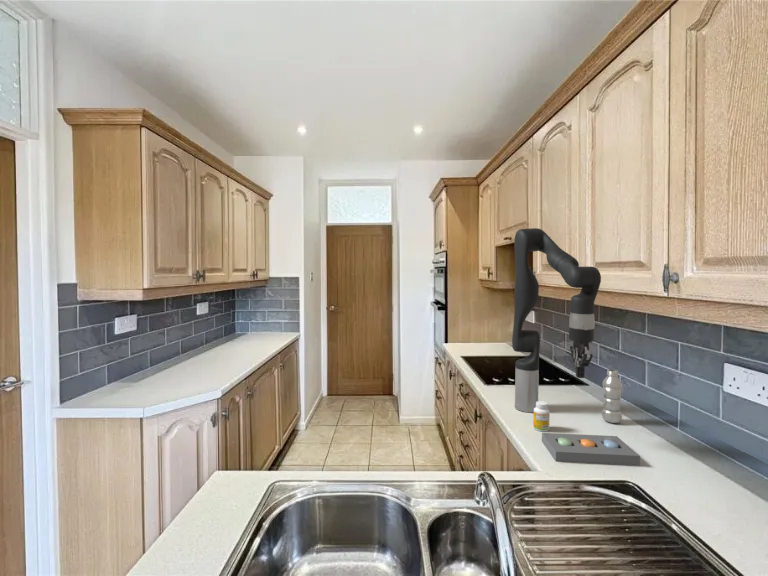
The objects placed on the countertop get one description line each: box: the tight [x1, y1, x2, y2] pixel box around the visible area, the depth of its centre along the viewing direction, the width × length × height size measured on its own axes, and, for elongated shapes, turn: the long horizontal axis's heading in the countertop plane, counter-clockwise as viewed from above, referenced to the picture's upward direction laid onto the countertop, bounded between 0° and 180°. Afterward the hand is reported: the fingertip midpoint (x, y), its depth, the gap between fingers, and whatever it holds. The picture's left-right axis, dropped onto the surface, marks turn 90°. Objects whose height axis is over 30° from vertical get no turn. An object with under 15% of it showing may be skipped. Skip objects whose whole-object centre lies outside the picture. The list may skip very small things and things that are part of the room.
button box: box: [541, 432, 641, 467], centre depth 123 cm, size 14×24×3 cm, turn 84°
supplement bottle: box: [532, 400, 551, 433], centre depth 141 cm, size 5×5×10 cm
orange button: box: [581, 439, 595, 447], centre depth 123 cm, size 4×4×2 cm
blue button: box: [604, 440, 618, 448], centre depth 122 cm, size 4×4×2 cm
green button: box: [558, 438, 572, 446], centre depth 123 cm, size 4×4×2 cm
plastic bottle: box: [601, 368, 623, 424], centre depth 148 cm, size 6×7×20 cm
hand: (580, 377), depth 130 cm, fingers closed
